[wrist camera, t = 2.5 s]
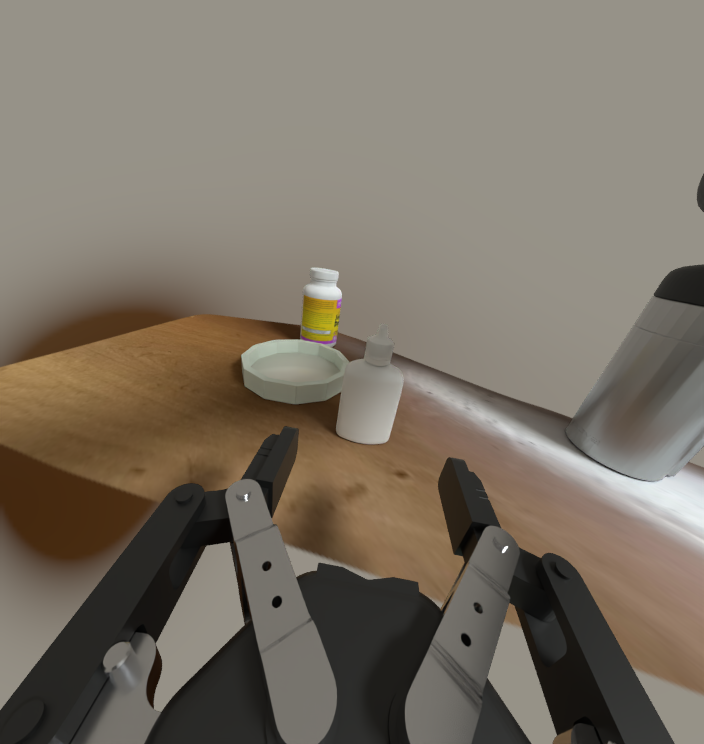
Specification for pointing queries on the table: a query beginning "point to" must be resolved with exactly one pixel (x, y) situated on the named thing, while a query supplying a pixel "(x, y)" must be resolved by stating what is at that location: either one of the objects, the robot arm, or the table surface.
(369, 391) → the eye dropper bottle
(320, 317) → the supplement bottle
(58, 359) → the table surface
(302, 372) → the dish
